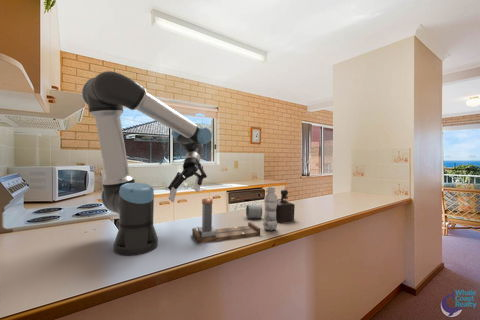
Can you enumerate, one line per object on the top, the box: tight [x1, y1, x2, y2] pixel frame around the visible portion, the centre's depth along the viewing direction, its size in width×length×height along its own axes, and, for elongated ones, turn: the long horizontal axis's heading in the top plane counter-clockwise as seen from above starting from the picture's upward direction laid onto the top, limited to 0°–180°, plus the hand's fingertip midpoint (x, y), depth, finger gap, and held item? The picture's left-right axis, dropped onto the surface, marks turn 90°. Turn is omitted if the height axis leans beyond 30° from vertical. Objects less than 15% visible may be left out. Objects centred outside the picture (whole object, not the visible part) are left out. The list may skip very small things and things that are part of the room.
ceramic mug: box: [245, 204, 263, 219], centre depth 131 cm, size 11×8×8 cm
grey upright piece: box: [197, 197, 216, 238], centre depth 96 cm, size 6×7×15 cm
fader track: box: [191, 221, 261, 245], centre depth 100 cm, size 28×10×3 cm, turn 114°
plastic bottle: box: [262, 187, 279, 231], centre depth 109 cm, size 6×7×20 cm
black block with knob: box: [276, 189, 296, 223], centre depth 125 cm, size 16×11×18 cm
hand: (183, 195), depth 98 cm, fingers open, 13 cm apart
